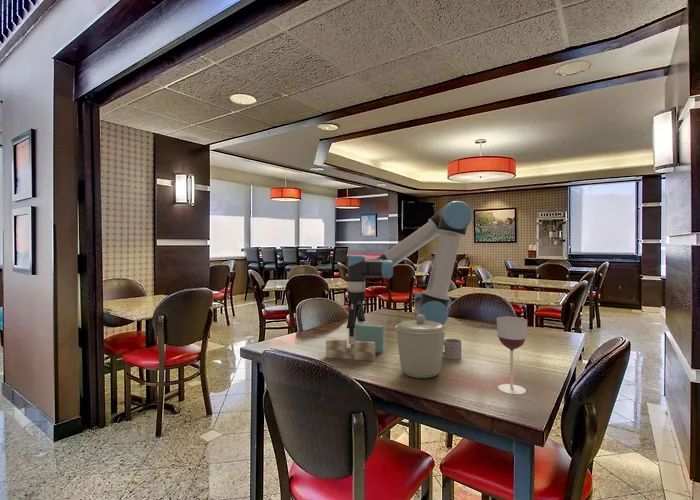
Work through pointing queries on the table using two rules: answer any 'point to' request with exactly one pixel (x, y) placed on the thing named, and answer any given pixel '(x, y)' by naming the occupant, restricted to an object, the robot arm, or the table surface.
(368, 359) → the birch notched board
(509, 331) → the wineglass
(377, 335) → the teal slotted plate
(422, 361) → the canister
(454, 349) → the mug
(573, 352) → the table surface
